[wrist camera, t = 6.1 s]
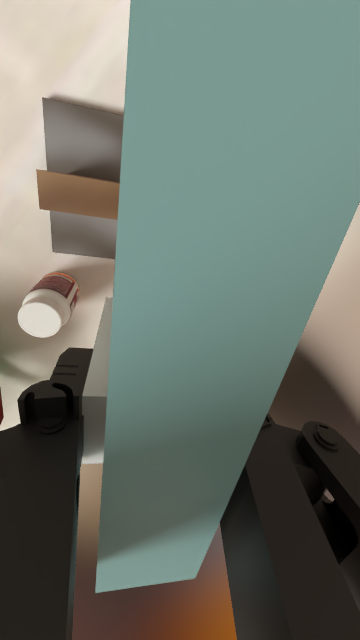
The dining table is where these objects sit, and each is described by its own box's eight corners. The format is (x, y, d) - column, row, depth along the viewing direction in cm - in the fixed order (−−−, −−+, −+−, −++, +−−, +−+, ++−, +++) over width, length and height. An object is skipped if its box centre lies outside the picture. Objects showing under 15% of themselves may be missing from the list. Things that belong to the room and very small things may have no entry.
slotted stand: (44, 99, 24) (-13, 46, 14) (242, 144, 28) (298, 126, 19) (54, 250, 30) (19, 281, 21) (215, 268, 34) (246, 300, 25)
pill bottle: (31, 280, 31) (0, 309, 24) (67, 265, 31) (47, 290, 24) (54, 312, 34) (32, 347, 26) (87, 298, 33) (74, 330, 26)
